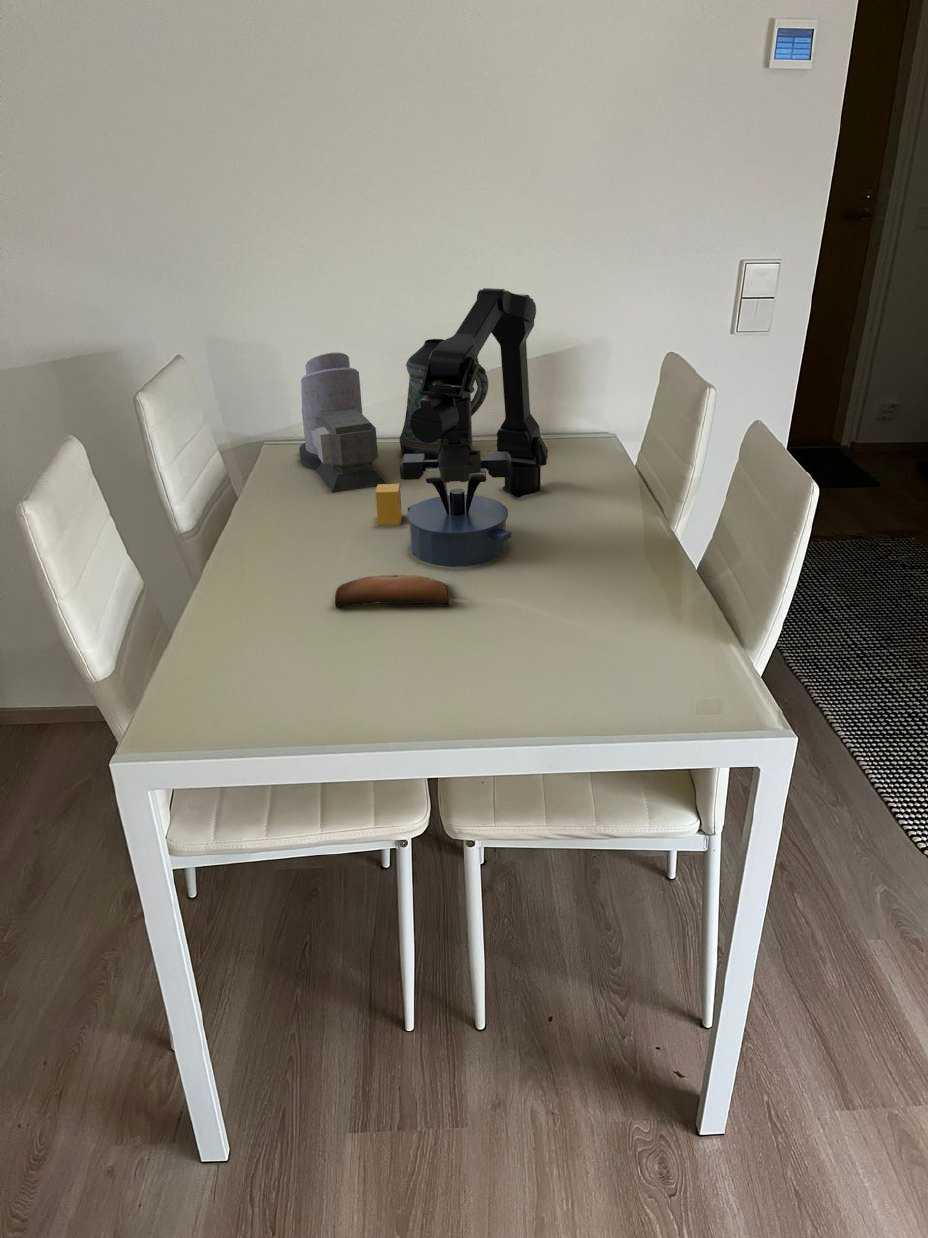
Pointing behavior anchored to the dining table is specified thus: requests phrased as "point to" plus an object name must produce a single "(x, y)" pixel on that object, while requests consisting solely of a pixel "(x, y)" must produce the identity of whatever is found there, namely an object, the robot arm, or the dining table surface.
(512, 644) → the dining table surface
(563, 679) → the dining table surface
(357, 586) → the sunglasses case
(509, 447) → the robot arm
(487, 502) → the lid
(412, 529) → the pot
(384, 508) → the block
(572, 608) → the dining table surface
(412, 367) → the beer stein
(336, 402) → the juicer
